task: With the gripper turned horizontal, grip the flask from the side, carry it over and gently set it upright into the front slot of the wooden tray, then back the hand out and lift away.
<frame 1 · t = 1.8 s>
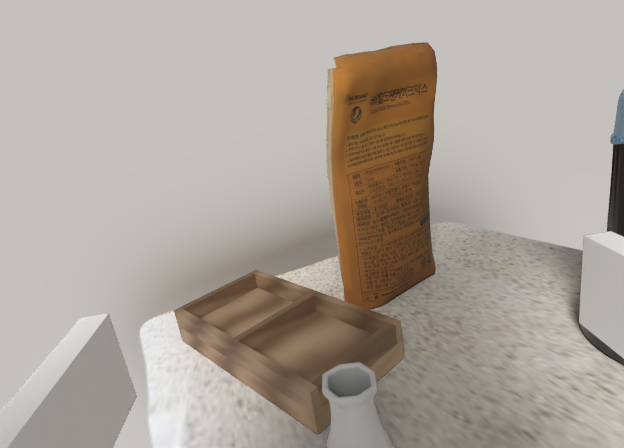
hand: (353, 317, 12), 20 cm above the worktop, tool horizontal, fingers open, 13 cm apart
wooden tray: (282, 348, 45), on the worktop
pancake mix bag: (398, 287, 54), on the worktop
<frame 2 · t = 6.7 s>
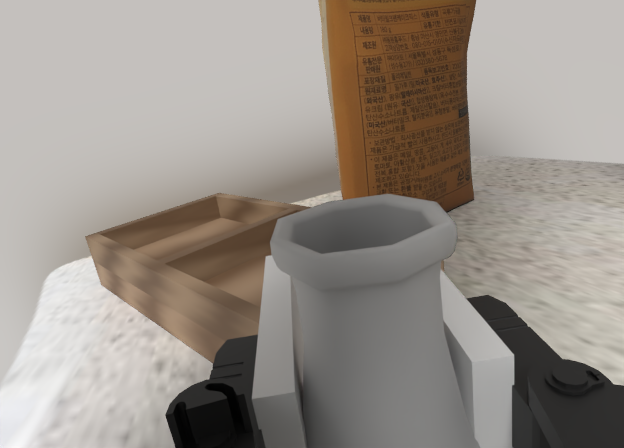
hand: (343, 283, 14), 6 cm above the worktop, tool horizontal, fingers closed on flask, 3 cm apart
wooden tray: (246, 288, 29), on the worktop
pancake mix bag: (423, 216, 38), on the worktop
when the fingers open (10 cm above the worktop, at t = 11.9 s): flask drops 2 cm, resting on wooden tray.
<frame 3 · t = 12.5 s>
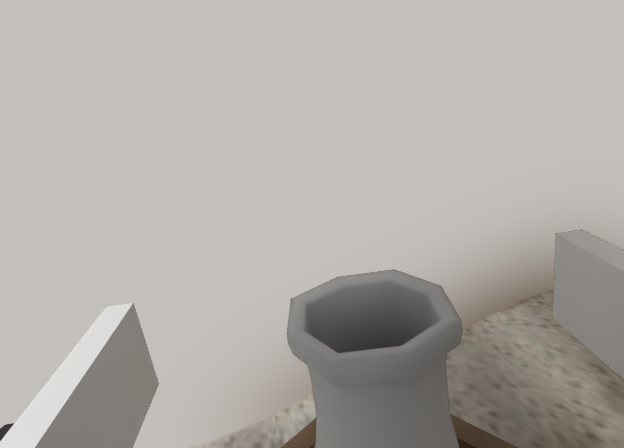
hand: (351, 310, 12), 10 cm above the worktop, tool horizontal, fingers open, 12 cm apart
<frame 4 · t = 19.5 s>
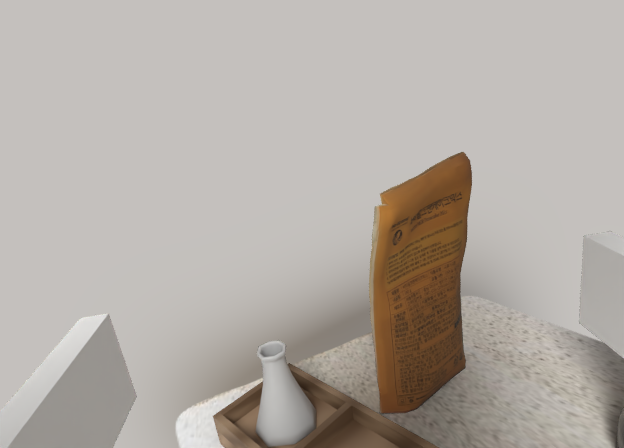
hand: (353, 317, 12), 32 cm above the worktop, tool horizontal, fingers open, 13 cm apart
flask: (287, 424, 49), point 2 cm above the worktop, touching wooden tray
pancake mix bag: (430, 383, 55), on the worktop
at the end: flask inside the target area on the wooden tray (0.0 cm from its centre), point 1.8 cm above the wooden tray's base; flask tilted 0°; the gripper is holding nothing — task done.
